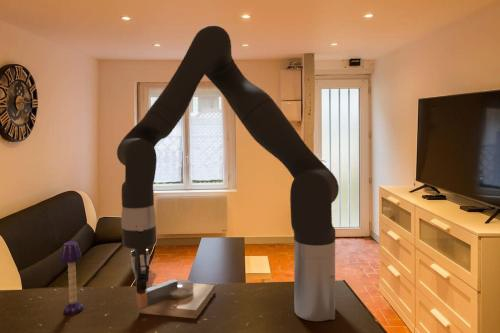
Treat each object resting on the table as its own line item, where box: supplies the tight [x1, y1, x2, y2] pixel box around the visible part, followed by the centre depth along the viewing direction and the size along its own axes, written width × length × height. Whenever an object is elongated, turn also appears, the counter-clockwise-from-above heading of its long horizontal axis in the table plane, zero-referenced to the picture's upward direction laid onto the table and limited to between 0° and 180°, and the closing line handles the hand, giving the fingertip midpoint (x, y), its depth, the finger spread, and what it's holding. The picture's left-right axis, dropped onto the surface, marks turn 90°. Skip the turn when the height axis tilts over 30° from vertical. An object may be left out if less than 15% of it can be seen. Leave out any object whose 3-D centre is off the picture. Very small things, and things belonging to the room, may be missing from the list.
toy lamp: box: [59, 240, 84, 315], centre depth 89 cm, size 5×5×17 cm
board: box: [138, 280, 216, 319], centre depth 94 cm, size 14×14×2 cm
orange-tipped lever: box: [135, 278, 193, 310], centre depth 91 cm, size 15×7×4 cm, turn 137°
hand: (141, 295), depth 89 cm, fingers closed
